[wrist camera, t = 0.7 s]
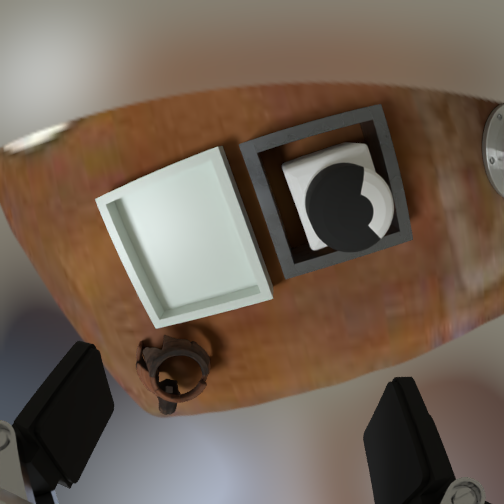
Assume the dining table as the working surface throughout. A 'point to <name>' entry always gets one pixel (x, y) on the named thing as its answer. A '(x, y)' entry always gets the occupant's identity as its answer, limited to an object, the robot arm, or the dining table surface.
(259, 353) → the dining table surface
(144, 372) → the broken pottery ring
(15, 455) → the robot arm
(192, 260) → the tray
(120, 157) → the dining table surface
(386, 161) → the holder
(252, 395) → the dining table surface
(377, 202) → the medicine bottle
